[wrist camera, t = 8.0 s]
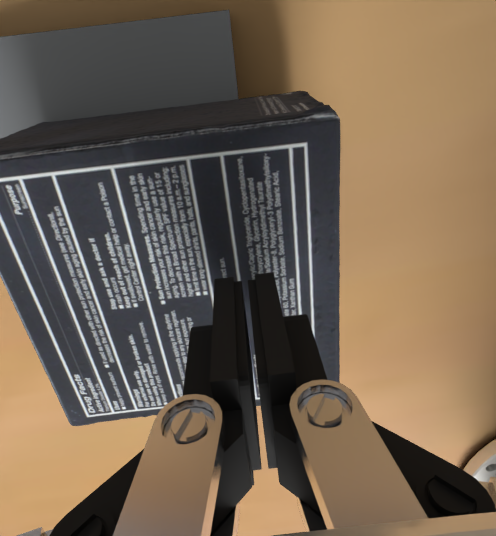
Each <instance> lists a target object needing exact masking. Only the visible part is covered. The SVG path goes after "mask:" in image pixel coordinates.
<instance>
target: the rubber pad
mask: <svg viewBox="0 0 496 536" xmlns="http://www.w3.org/2000/svg"><path fill="white" fill-rule="evenodd" d="M234 99H239V98H238V89H237V80H236V70H235V61H234V51H233V42H232V33H231V23H230V14H229V10H223V11H215V12H206V13H198V14H190V15H181V16H173V17H164V18H156V19H147V20H139V21H131V22H122V23H114V24H105V25H97V26H88V27H80V28H72V29H63V30H55V31H46V32H38V33H29V34H21V35H13V36H4V37H0V139H1V138H4V137H6V136H9V135H10V134H14V133H16V132H18V131H20V130H23V129H27V128H29V127H31V126H34V125H36V124H38V123H42V122H54V121H63V120H73V119H80V118H89V117H97V116H104V115H115V114H122V113H128V112H137V111H146V110H153V109H161V108H169V107H179V106H188V105H196V104H203V103H210V102H218V101H229V100H234Z"/></svg>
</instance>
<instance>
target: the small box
mask: <svg viewBox="0 0 496 536" xmlns="http://www.w3.org/2000/svg"><path fill="white" fill-rule="evenodd" d="M339 174H340V119H339V117H338V115H337V114H336V112H335V111H334V110H333V109H332V108H331V107H330V106H329V105H324V104H323V103H322V102H318V101H317V100H315V99H314V98H313V97H311V96H310V95H309V94H308V92H305V91H296V92H290V93H284V94H276V95H268V96H258V97H251V98H244V99H234V100H229V101H218V102H210V103H203V104H196V105H188V106H179V107H169V108H161V109H153V110H146V111H137V112H128V113H122V114H115V115H104V116H97V117H89V118H80V119H73V120H63V121H54V122H42V123H38V124H36V125H34V126H31V127H29V128H27V129H23V130H20V131H18V132H16V133H14V134H10V135H9V136H6V137H4V138H1V139H0V276H1V278H2V280H3V283H4V285H5V287H6V289H7V291H8V293H9V295H10V297H11V300H12V302H13V304H14V306H15V308H16V311H17V313H18V314H19V316H20V318H21V321H22V323H23V325H24V327H25V329H26V331H27V334H28V336H29V338H30V340H31V342H32V344H33V346H34V348H35V350H36V352H37V355H38V357H39V359H40V361H41V363H42V365H43V367H44V370H45V372H46V374H47V375H48V377H49V380H50V382H51V384H52V387H53V389H54V391H55V393H56V395H57V397H58V399H59V402H60V404H61V406H62V408H63V410H64V412H65V414H66V417H67V418H68V421H69V423H70V424H71V425H72V426H81V425H88V424H93V423H97V422H104V421H112V420H119V419H127V418H136V417H147V416H151V415H158V413H159V411H160V410H161V409H162V408H163V407H164V406H165V405H166V404H168V403H169V402H171V401H172V400H174V399H176V398H179V397H181V396H183V387H184V379H185V371H186V362H187V354H188V346H189V337H190V330H191V328H192V327H197V326H206V325H212V324H213V301H214V280H215V279H218V278H227V277H234V281H235V282H236V281H242V287H243V295H244V302H245V310H246V318H247V326H248V333H249V341H250V349H251V357H252V367H253V378H254V389H255V401H256V406H261V403H260V395H259V387H258V378H257V369H256V359H255V349H254V339H253V329H252V319H251V309H250V299H249V289H248V280H253V279H255V274H261V273H270V272H274V277H275V281H276V286H277V290H278V295H279V300H280V304H281V309H282V313H283V317H284V316H293V315H302V314H307V316H308V318H309V321H310V325H311V328H312V331H313V334H314V338H315V341H316V344H317V347H318V351H319V354H320V357H321V360H322V364H323V367H324V370H325V373H326V376H327V380H332V381H335V382H338V383H340V382H339V373H340V371H339V367H340V365H339V277H340V272H339V265H340V263H339V246H340V242H339V206H340V195H339V187H340V176H339Z"/></svg>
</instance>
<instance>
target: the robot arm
mask: <svg viewBox="0 0 496 536" xmlns="http://www.w3.org/2000/svg"><path fill="white" fill-rule="evenodd" d="M248 289H249V299H250V309H251V319H252V329H253V339H254V349H255V359H256V369H257V378H258V387H259V395H260V403H261V411H262V419H263V427H264V435H265V443H266V451H267V459H268V467H269V468H278V475H279V482H280V484H281V485H282V486H284V487H285V488H286V489H288V490H289V491H290V492H291V493H293V494H294V495H295V496H296V498H297V504H298V508H299V511H300V514H301V517H302V521H303V524H304V527H305V530H306V532H300V533H291V534H282V535H273V536H496V439H494V440H493V441H491V442H490V443H489V444H487V445H486V446H485V447H483V448H482V449H481V450H479V451H478V452H477V453H476V454H475V455H474V456H473V457H472V459H471V460H470V461H469V462H468V463H467V465H466V466H465V468H464V469H463V470H462V469H460V468H458V467H456V466H455V465H453V464H451V463H449V462H447V461H445V460H443V459H441V458H440V457H438V456H436V455H434V454H432V453H430V452H428V451H427V450H425V449H423V448H421V447H419V446H417V445H415V444H413V443H412V442H410V441H408V440H406V439H404V438H402V437H400V436H399V435H397V434H395V433H393V432H391V431H389V430H387V429H385V428H384V427H382V426H380V425H378V424H376V423H374V422H372V421H371V420H370V418H369V416H368V415H367V413H366V411H365V409H364V408H363V406H362V404H361V403H360V401H359V399H358V398H357V396H356V395H355V394H354V393H353V391H352V390H351V389H349V388H348V387H346V386H345V385H343V384H341V383H338V382H335V381H332V380H327V376H326V373H325V370H324V367H323V364H322V360H321V357H320V354H319V351H318V347H317V344H316V341H315V338H314V334H313V331H312V328H311V325H310V321H309V318H308V316H307V314H302V315H293V316H284V317H283V313H282V309H281V304H280V300H279V295H278V290H277V286H276V281H275V277H274V272H270V273H261V274H255V279H253V280H248ZM260 469H261V458H260V446H259V435H258V423H257V412H256V401H255V389H254V378H253V367H252V357H251V349H250V341H249V333H248V326H247V318H246V310H245V302H244V295H243V287H242V281H236V282H235V281H234V277H227V278H218V279H215V280H214V301H213V324H212V325H206V326H197V327H192V328H191V330H190V337H189V346H188V354H187V362H186V371H185V379H184V387H183V396H181V397H179V398H176V399H174V400H172V401H171V402H169V403H168V404H166V405H165V406H164V407H163V408H162V409H161V410H160V411H159V413H158V415H157V417H156V419H155V421H154V423H153V426H152V429H151V432H150V434H149V437H148V440H147V443H146V445H145V448H144V449H143V450H142V451H141V452H140V453H139V454H137V455H136V456H135V457H134V458H133V459H131V460H130V461H129V462H128V463H127V464H126V465H124V466H123V467H122V468H121V469H120V470H119V471H117V472H116V473H115V474H114V475H113V476H111V477H110V478H109V479H108V480H107V481H106V482H104V483H103V484H102V485H101V486H100V487H98V488H97V489H96V490H95V491H94V492H93V493H91V494H90V495H89V496H88V497H87V498H85V499H84V500H83V501H82V502H81V503H80V504H78V505H77V506H76V507H75V508H74V509H73V510H71V511H70V512H69V513H68V514H67V515H66V516H65V517H64V518H63V519H62V520H61V521H60V522H59V523H58V524H57V525H56V526H55V527H54V529H52V530H49V531H46V532H44V530H43V528H42V527H41V528H38V529H35V530H32V531H29V532H26V533H23V534H20V535H17V536H237V534H238V525H239V516H240V502H239V501H240V500H241V499H242V498H243V497H244V496H245V494H246V493H247V492H248V491H249V490H250V489H251V488H252V485H254V478H253V470H260Z"/></svg>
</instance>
